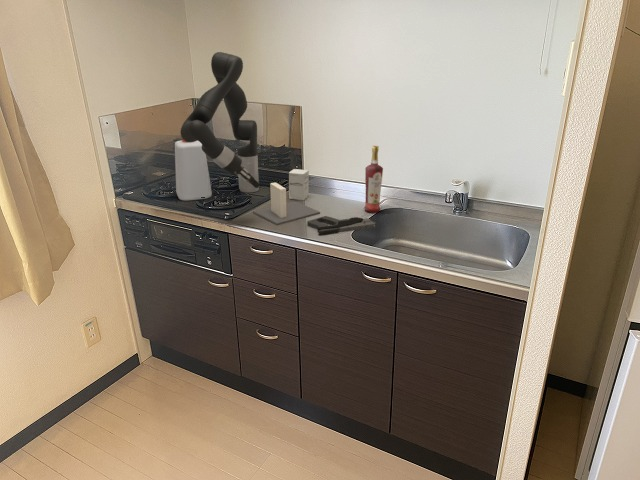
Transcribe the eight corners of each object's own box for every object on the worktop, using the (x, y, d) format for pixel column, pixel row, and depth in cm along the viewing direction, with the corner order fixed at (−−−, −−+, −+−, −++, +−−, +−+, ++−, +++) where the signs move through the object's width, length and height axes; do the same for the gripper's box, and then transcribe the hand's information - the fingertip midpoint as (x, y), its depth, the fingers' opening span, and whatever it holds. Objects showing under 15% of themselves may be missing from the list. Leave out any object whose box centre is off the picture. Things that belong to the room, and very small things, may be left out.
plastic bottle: (213, 198, 231) (208, 137, 220) (179, 202, 226) (173, 140, 215) (207, 189, 244) (202, 131, 233) (175, 192, 239) (169, 133, 228)
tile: (271, 210, 215) (270, 183, 210) (277, 209, 216) (276, 182, 211) (280, 217, 207) (280, 189, 202) (287, 216, 208) (286, 188, 203)
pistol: (304, 218, 203) (317, 231, 190) (362, 211, 212) (378, 223, 199) (304, 223, 204) (317, 236, 191) (362, 216, 213) (378, 228, 200)
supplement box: (288, 199, 232) (288, 172, 227) (294, 194, 238) (293, 168, 233) (303, 200, 230) (303, 173, 225) (309, 196, 236) (309, 169, 231)
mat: (253, 213, 214) (252, 211, 214) (294, 202, 227) (294, 201, 226) (277, 225, 201) (277, 223, 201) (320, 213, 214) (320, 211, 214)
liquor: (368, 214, 213) (371, 149, 202) (360, 209, 220) (363, 145, 209) (383, 212, 216) (387, 147, 205) (375, 207, 222) (379, 143, 211)
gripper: (239, 155, 187) (270, 183, 197) (227, 148, 198) (257, 175, 208) (226, 171, 187) (258, 197, 197) (215, 163, 197) (246, 189, 208)
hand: (257, 186), depth 202 cm, fingers closed
